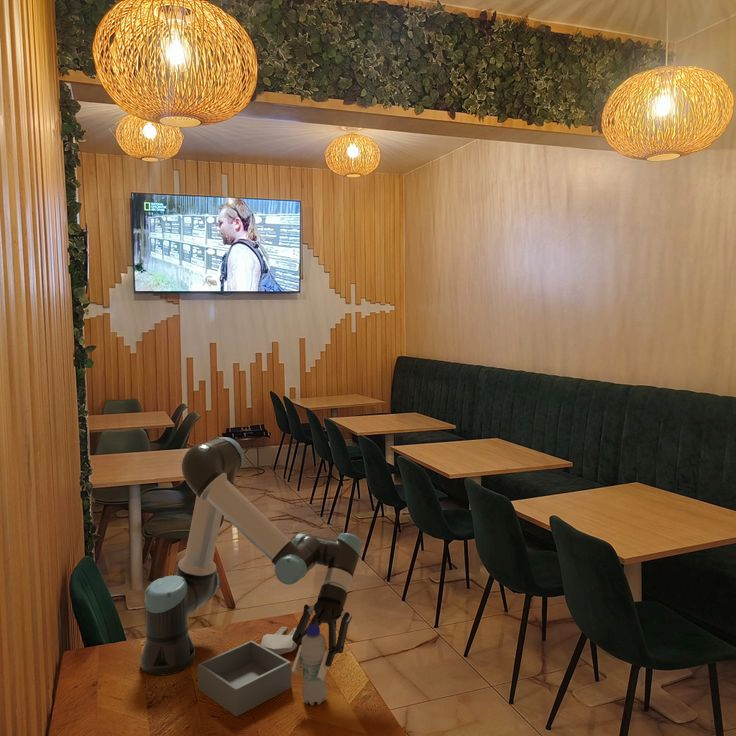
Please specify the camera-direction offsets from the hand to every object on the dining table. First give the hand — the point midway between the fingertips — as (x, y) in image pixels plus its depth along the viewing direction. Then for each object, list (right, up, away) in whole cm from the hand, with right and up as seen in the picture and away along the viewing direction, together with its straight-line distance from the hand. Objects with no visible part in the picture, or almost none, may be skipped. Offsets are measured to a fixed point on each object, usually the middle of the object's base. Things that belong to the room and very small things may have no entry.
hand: (307, 675), depth 161 cm
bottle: (+2, -8, +4) cm, 9 cm away
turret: (-11, -7, +34) cm, 36 cm away
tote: (-18, -8, +10) cm, 22 cm away
